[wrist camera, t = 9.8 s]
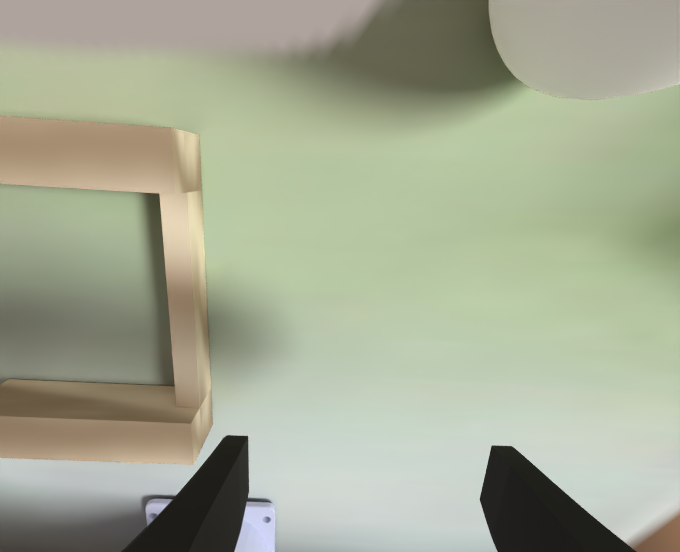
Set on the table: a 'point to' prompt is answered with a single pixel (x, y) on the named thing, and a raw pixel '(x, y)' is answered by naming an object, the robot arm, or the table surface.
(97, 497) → the table surface
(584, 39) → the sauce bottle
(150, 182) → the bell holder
